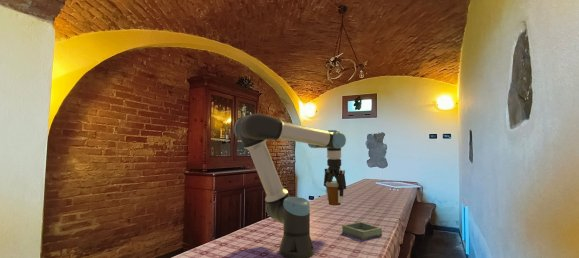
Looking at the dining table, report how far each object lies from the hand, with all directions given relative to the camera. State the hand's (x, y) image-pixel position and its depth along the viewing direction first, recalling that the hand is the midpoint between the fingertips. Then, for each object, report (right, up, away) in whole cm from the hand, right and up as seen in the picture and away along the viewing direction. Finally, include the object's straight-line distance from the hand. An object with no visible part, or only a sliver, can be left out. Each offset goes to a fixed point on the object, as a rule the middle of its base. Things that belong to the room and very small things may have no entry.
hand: (334, 201), depth 157 cm
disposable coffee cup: (0, -2, 0) cm, 2 cm away
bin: (+14, -18, -1) cm, 23 cm away
